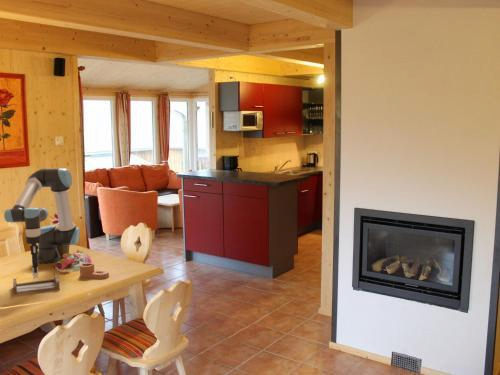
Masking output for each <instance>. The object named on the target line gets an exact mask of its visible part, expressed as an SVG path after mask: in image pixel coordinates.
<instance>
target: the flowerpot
mask: <svg viewBox="0 0 500 375" xmlns="http://www.w3.org/2000/svg"><path fill="white" fill-rule="evenodd" d="M53 217H54V218H55V220H53V221H52V225H55V224H59V221H58V215H57V214H56V213H55V214H54V215H53ZM57 249H58V252H59V254H60V257H63V256H62V255H63V254H70V245H57Z"/></svg>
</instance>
